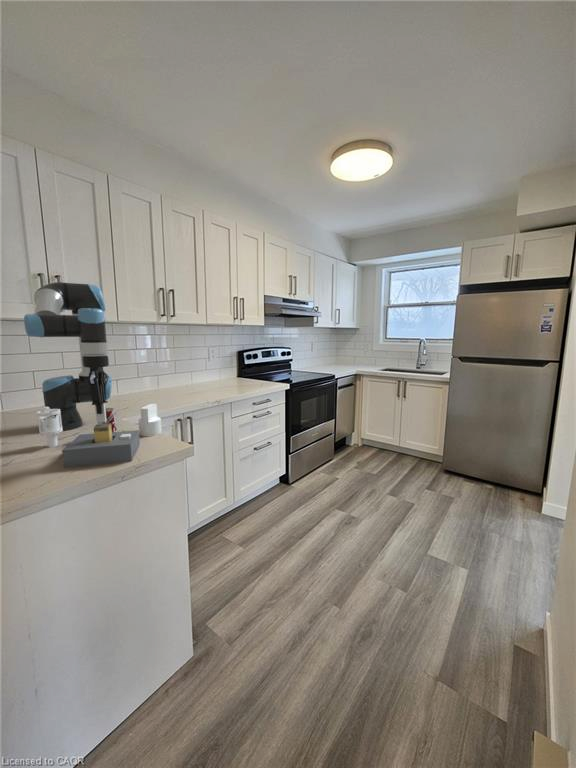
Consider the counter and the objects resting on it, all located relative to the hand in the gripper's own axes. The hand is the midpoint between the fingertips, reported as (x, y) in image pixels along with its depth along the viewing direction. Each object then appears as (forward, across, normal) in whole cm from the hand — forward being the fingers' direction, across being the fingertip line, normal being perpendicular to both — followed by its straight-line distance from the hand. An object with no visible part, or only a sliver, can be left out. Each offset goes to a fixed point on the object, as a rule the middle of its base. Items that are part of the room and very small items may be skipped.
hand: (101, 421), depth 110 cm
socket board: (+12, +1, 0) cm, 12 cm away
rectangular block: (+11, +1, 0) cm, 11 cm away
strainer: (+13, -15, -22) cm, 29 cm away
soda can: (+13, -20, -4) cm, 24 cm away
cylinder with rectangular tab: (+13, -22, +12) cm, 28 cm away
